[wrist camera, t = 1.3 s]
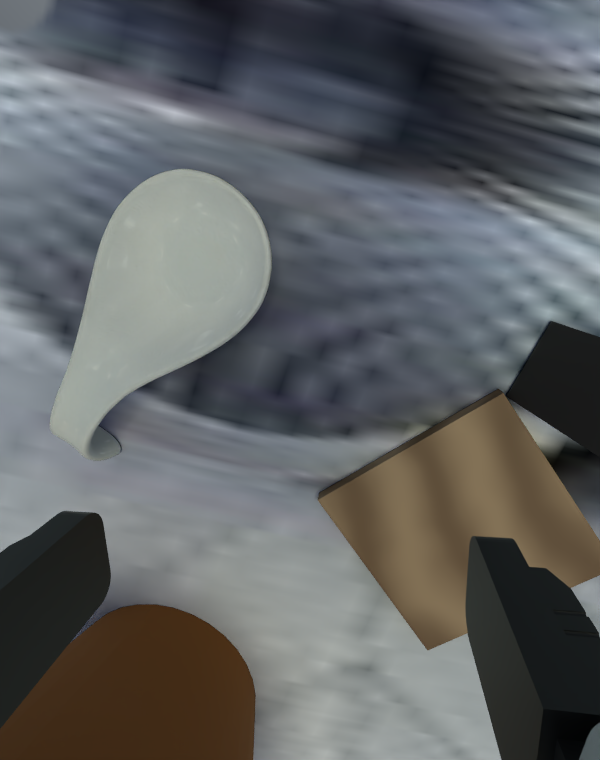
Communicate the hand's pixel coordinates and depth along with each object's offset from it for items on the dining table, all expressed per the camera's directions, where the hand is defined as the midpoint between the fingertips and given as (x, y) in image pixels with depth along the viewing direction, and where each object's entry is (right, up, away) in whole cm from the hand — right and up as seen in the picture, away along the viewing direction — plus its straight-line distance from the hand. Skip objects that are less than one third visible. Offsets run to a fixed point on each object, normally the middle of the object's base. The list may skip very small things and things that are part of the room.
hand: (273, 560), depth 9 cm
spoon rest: (-10, +8, +26) cm, 29 cm away
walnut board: (+13, -8, +25) cm, 30 cm away
